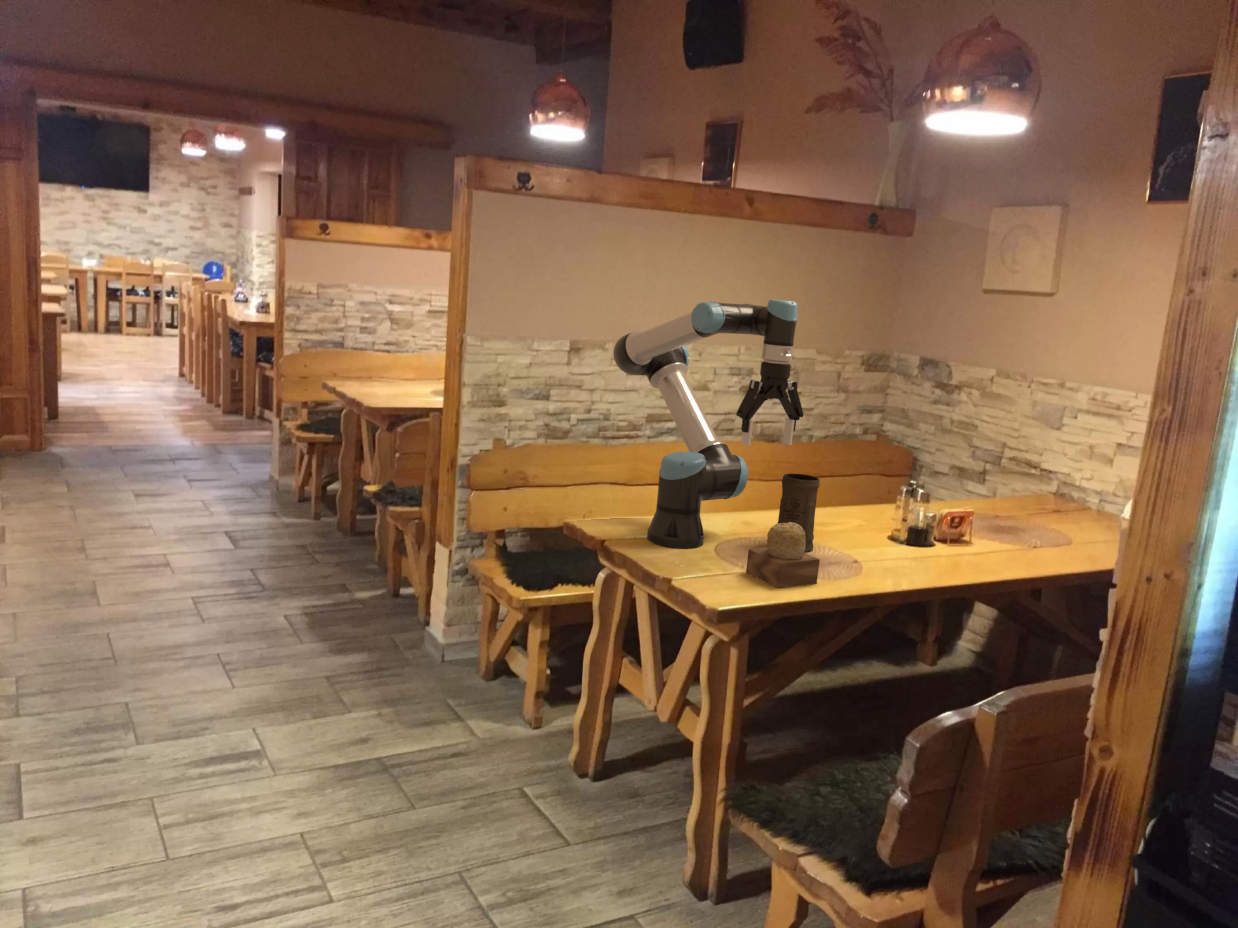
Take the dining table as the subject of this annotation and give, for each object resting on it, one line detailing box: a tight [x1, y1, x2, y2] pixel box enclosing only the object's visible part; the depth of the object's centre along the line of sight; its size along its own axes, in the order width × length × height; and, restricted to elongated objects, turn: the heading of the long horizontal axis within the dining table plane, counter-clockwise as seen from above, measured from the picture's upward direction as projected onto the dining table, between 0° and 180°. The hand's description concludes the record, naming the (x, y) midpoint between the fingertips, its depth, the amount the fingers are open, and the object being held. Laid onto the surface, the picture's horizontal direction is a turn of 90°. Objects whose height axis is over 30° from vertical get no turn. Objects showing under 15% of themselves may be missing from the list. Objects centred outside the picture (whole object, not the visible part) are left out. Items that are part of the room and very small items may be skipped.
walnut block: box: [745, 546, 821, 589], centre depth 234 cm, size 12×12×6 cm
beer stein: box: [777, 473, 821, 553], centre depth 264 cm, size 15×11×20 cm
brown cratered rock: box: [766, 522, 806, 559], centre depth 233 cm, size 9×9×8 cm
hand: (766, 444), depth 250 cm, fingers open, 13 cm apart
